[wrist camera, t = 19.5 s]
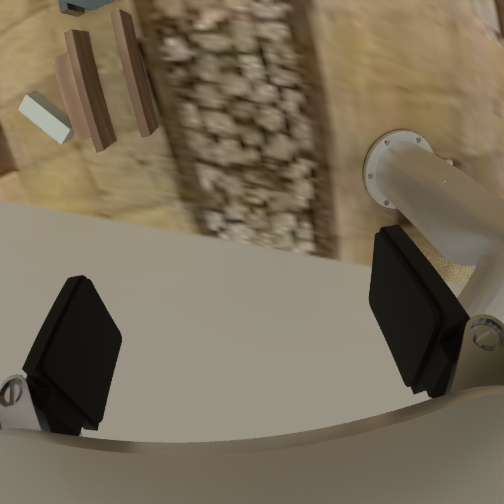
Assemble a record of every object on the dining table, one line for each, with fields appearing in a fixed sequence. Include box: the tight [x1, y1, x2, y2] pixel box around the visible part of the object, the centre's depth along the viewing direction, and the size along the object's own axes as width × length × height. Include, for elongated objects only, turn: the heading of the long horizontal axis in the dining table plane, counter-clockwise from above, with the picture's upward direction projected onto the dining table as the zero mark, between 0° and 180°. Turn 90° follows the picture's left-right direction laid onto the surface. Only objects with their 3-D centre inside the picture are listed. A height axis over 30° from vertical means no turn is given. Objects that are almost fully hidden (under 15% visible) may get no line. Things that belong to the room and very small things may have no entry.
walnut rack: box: [64, 9, 158, 153], centre depth 30 cm, size 7×16×5 cm, turn 10°
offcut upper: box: [18, 91, 74, 145], centre depth 32 cm, size 3×9×2 cm
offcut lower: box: [52, 52, 91, 141], centre depth 31 cm, size 4×12×2 cm, turn 12°
